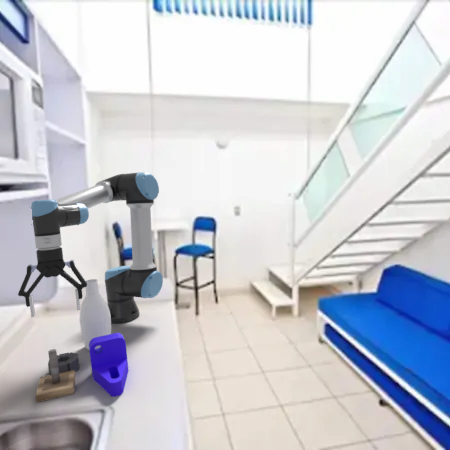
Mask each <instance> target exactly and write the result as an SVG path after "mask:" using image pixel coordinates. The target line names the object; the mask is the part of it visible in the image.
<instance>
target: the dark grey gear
mask: <svg viewBox="0 0 450 450" xmlns="http://www.w3.org/2000/svg"><path fill="white" fill-rule="evenodd" d="M79 359H80V358H79V354H78V353H76V352H65V353H59V355H58V354H57V360H58V367H59V373H62V372H67V371H72V370H75V373H76V372H79V370H80V360H79ZM47 366H48V375H51V369H50V361H49V360H48V362H47Z"/></svg>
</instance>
